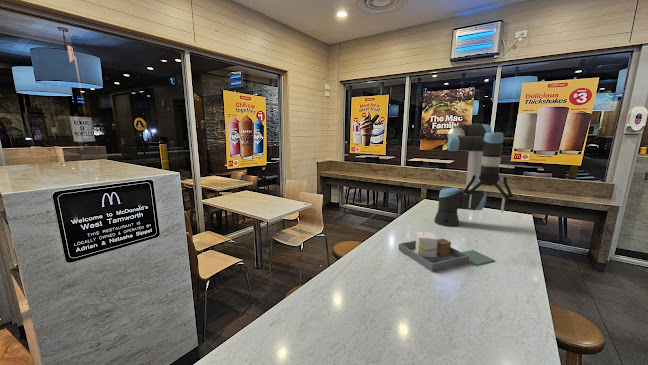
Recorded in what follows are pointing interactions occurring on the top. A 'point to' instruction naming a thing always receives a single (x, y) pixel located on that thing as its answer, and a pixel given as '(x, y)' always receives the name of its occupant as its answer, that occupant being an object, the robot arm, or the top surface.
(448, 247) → the walnut block
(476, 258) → the pad
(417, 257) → the bin
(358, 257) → the top surface
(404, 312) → the top surface
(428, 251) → the ink box
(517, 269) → the top surface
